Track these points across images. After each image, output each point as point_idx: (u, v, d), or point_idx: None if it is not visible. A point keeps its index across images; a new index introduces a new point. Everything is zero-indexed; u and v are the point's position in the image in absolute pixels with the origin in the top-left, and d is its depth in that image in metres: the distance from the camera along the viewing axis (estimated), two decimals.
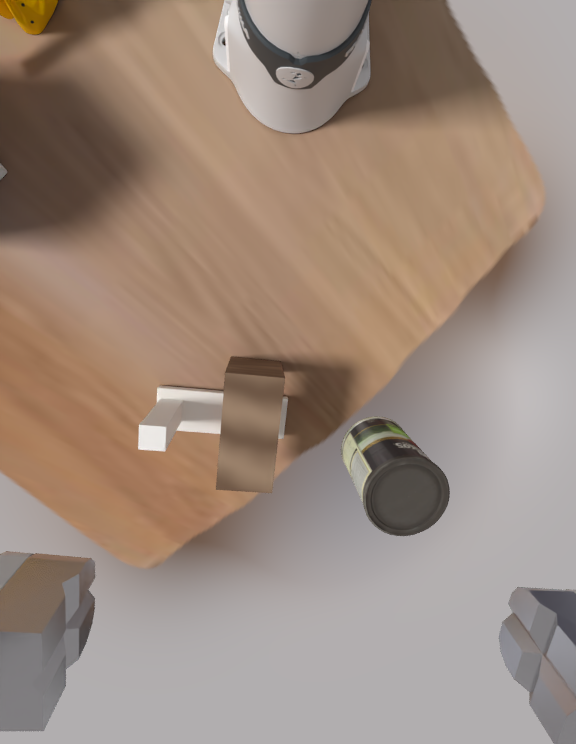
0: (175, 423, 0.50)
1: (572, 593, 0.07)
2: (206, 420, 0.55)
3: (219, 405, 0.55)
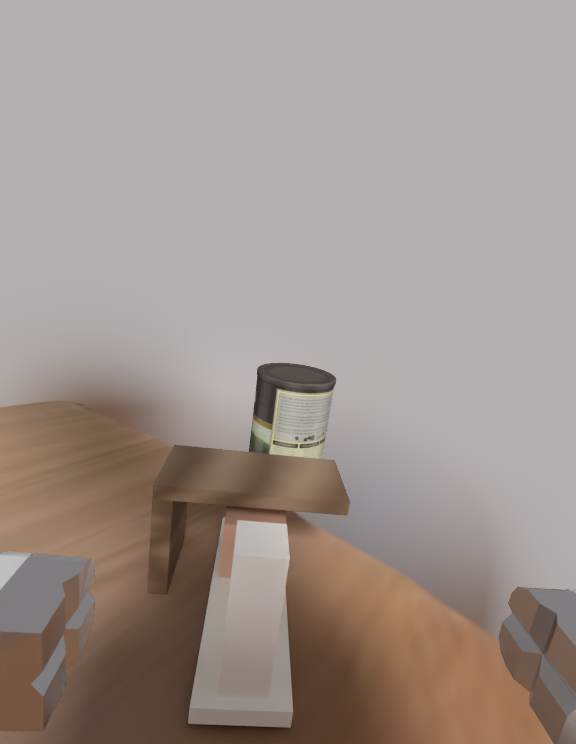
0: None
1: (572, 593, 0.07)
2: None
3: None
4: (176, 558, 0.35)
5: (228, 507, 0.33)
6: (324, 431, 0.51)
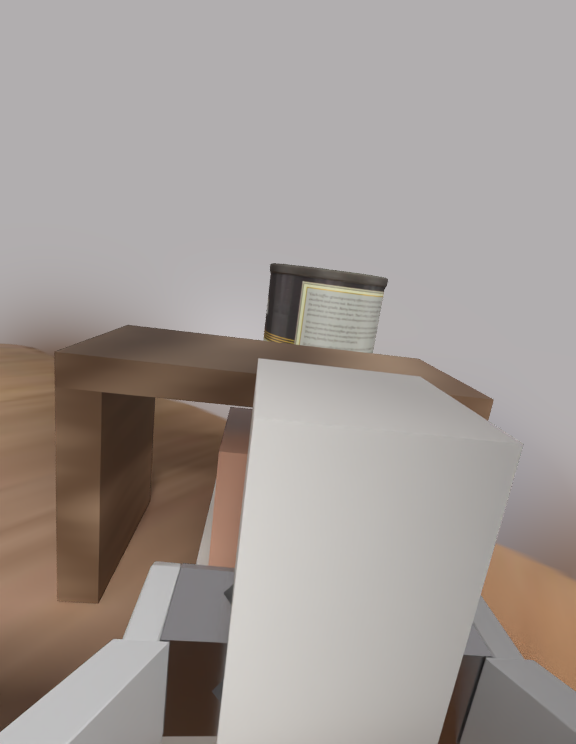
0: None
1: None
2: None
3: None
4: (129, 534, 0.18)
5: (228, 428, 0.17)
6: None
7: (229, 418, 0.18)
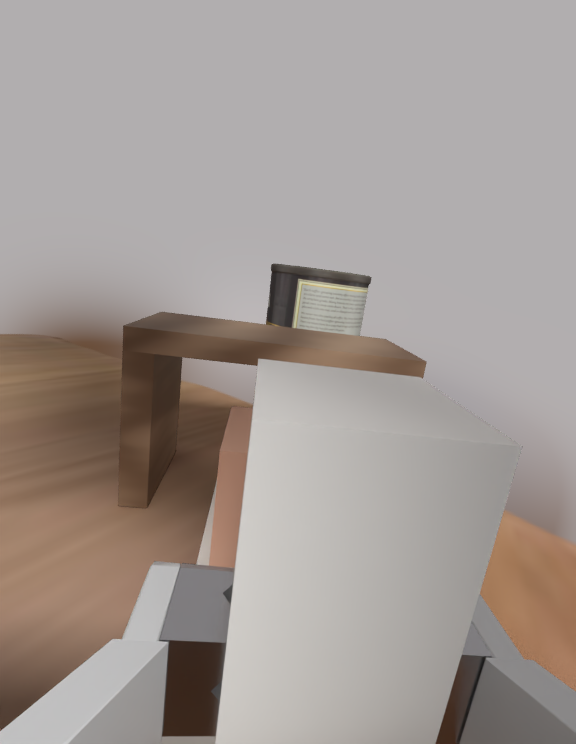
0: None
1: None
2: None
3: None
4: (164, 469, 0.24)
5: (229, 427, 0.17)
6: None
7: (230, 417, 0.18)
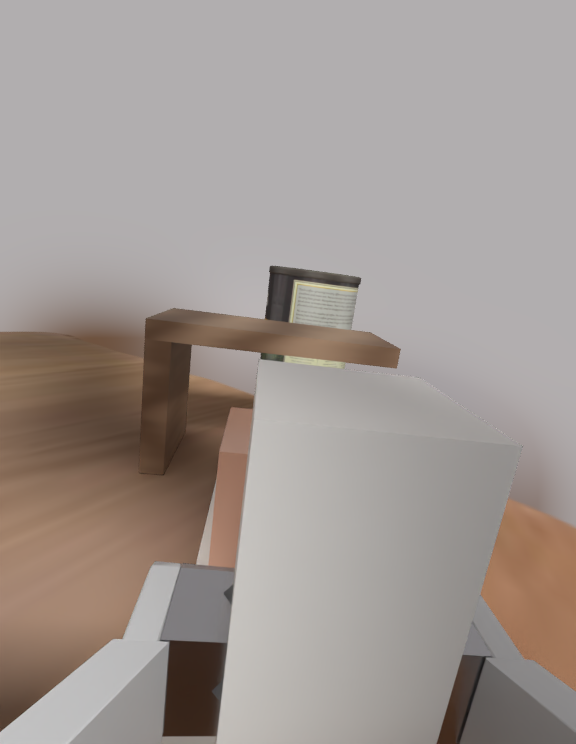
0: None
1: None
2: None
3: None
4: (176, 445, 0.28)
5: (228, 428, 0.17)
6: None
7: (229, 418, 0.18)
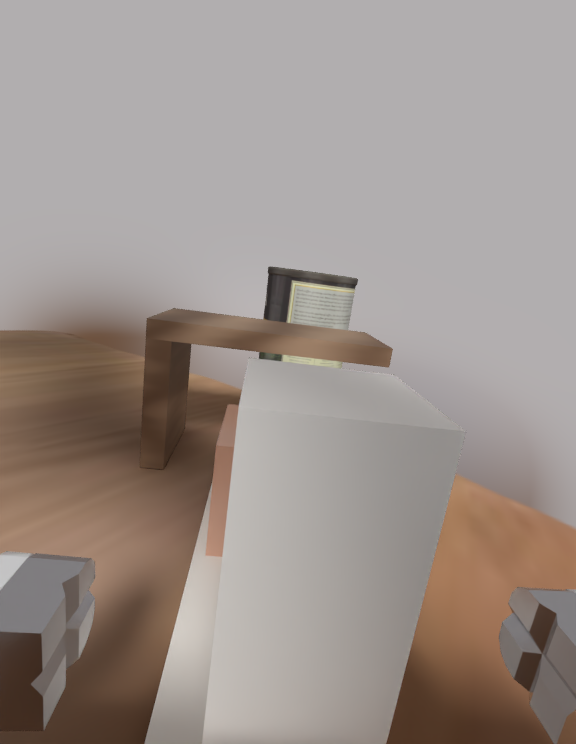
0: None
1: (572, 593, 0.07)
2: None
3: None
4: (175, 441, 0.29)
5: (225, 423, 0.17)
6: None
7: (226, 414, 0.19)
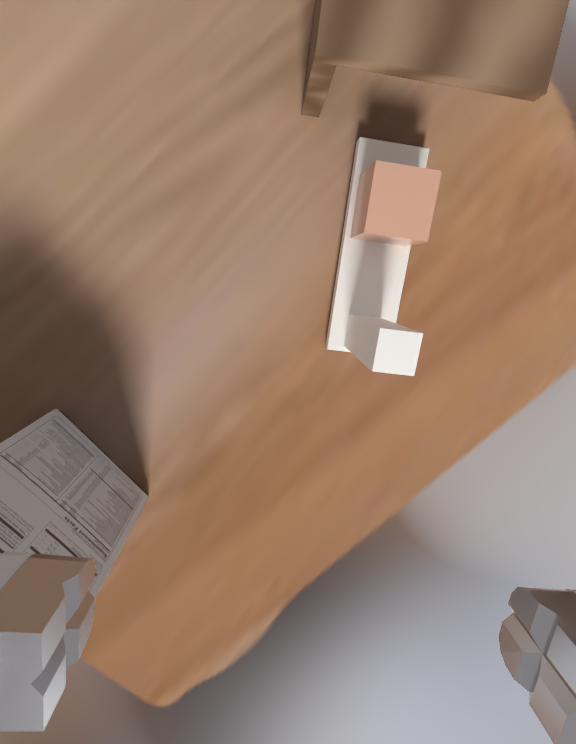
0: (380, 321, 0.32)
1: (572, 593, 0.07)
2: (383, 279, 0.35)
3: (361, 257, 0.35)
4: None
5: (371, 200, 0.29)
6: None
7: (373, 183, 0.29)
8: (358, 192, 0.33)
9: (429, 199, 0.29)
